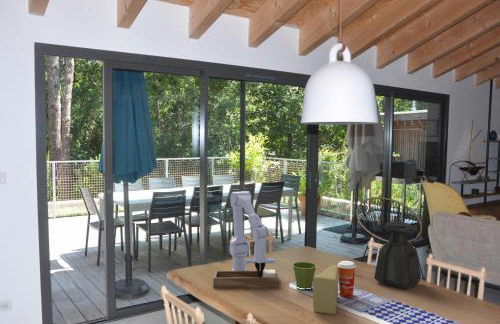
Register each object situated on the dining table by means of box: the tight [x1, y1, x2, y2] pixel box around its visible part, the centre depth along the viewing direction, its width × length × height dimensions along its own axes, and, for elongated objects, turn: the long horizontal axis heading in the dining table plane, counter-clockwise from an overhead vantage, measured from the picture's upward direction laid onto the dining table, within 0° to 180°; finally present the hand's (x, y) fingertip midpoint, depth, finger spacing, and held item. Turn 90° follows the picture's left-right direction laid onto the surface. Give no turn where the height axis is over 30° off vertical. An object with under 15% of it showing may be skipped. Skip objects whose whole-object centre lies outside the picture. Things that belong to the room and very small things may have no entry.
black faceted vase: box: [373, 221, 422, 291], centre depth 210 cm, size 18×16×30 cm
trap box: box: [212, 270, 280, 288], centre depth 212 cm, size 12×32×4 cm, turn 90°
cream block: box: [263, 269, 276, 278], centre depth 212 cm, size 6×6×4 cm
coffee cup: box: [336, 260, 357, 298], centre depth 195 cm, size 8×8×15 cm
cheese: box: [312, 264, 339, 315], centre depth 184 cm, size 22×10×15 cm, turn 156°
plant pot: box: [292, 261, 318, 290], centre depth 205 cm, size 12×12×11 cm
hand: (260, 277), depth 212 cm, fingers closed
